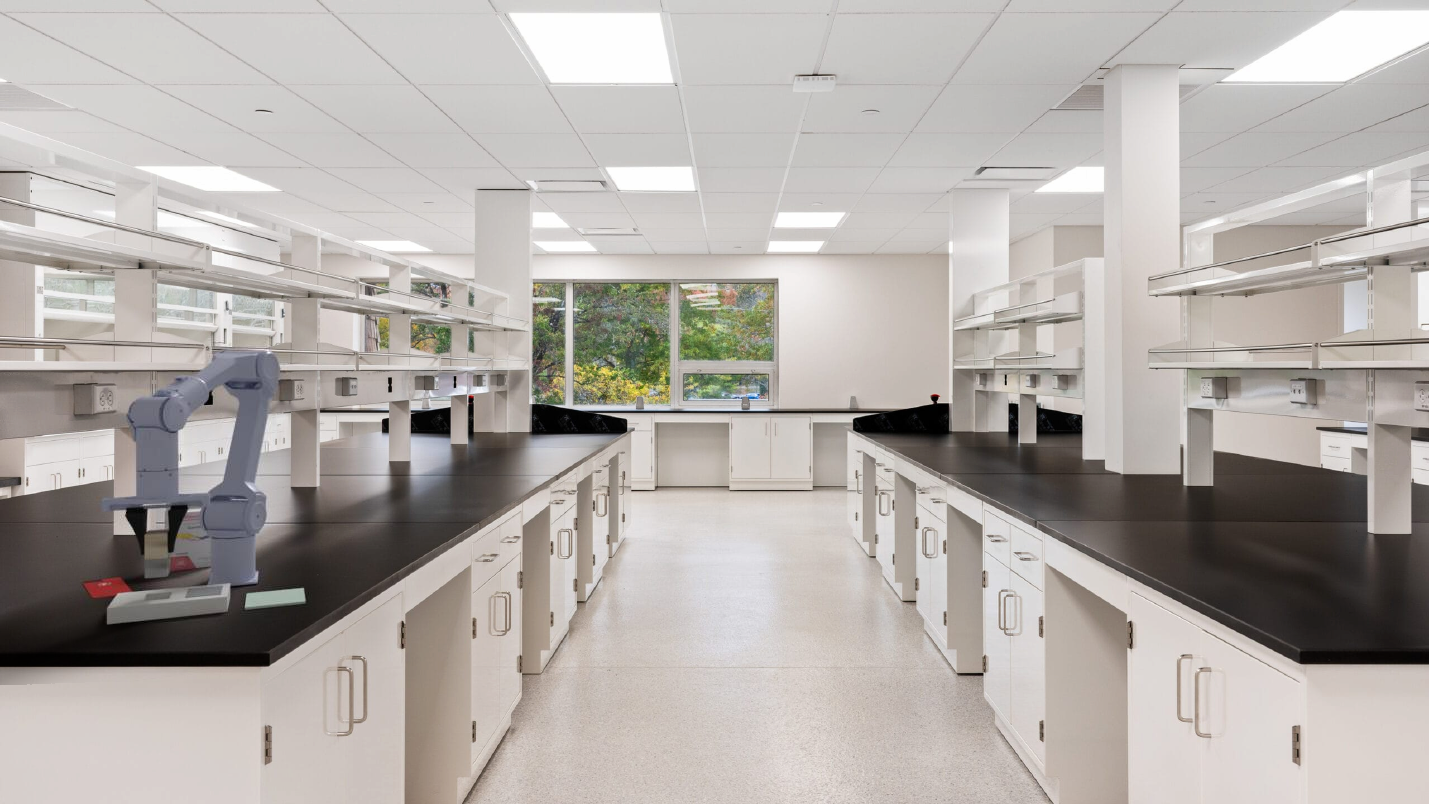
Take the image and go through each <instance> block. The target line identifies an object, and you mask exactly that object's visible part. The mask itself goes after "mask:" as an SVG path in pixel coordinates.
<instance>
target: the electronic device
mask: <svg viewBox="0 0 1429 804" xmlns="http://www.w3.org/2000/svg"><path fill="white" fill-rule="evenodd" d="M81 584H82V585H83V587H84V588H85V589H86V591H87V593H88V594H89V596H90V597H91V598H92V599H93V600H94V599H102V598H109V597H114V596H115V597H116V595H117V594H118V593H126V592H133V590H132V589H131V588H130V587H129V586H128V585H127V583H125V581H124V580H123V579H122V578H121V577H111V578H100V579H93V580H83V581H82V582H81Z"/></svg>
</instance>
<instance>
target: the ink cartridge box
mask: <svg viewBox="0 0 1429 804" xmlns="http://www.w3.org/2000/svg"><path fill="white" fill-rule="evenodd" d="M192 494H208V492H200V493H199V492H198V493H197V492H196V493H194V492H193V493H192ZM166 504H171V503H165V505H166ZM188 508H189V509H188V511H187V513H186V515H185V517H184V519H183V521H182V523H181V526H180V528H179V531H178V534H177V537H176V541H175V548H174V552H173V553H170V572H176V571H179V572H180V571H186V570H193V569H200V568H209V567H210V568H211V537H210V536H207V532H206V531H204V530H203V529H202V527H201V525H200V521H199V514H200V510H201V508H202V506H195V507H188ZM170 509H171V508H165V511H164V529H169V523H168V511H169V510H170Z"/></svg>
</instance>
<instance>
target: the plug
mask: <svg viewBox="0 0 1429 804" xmlns="http://www.w3.org/2000/svg"><path fill="white" fill-rule="evenodd" d="M168 538H169V529H165V528H163V529H161V528H160V529H149V530H148V529H147V533H146V534H145V555H144V579H154V578H165V577H166V578H167V577H168V576H169V573H171V571H170V553H168Z"/></svg>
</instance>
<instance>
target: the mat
mask: <svg viewBox="0 0 1429 804" xmlns="http://www.w3.org/2000/svg"><path fill="white" fill-rule="evenodd" d="M303 604H306V595H305V588H304V587H301V588H291V589H288V588H287V589H281V590H280V589H279V590H271V591H270V590H267V591H259V592H258V591H256V592H247V593H246V597H245V604H244V611H247V610H257V609H266V608H277V607H287V606H295V605H303Z"/></svg>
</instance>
